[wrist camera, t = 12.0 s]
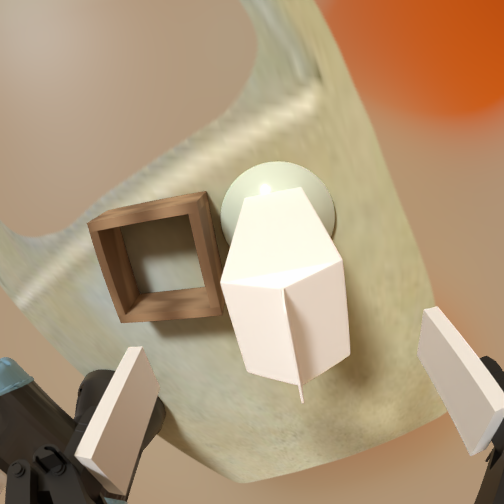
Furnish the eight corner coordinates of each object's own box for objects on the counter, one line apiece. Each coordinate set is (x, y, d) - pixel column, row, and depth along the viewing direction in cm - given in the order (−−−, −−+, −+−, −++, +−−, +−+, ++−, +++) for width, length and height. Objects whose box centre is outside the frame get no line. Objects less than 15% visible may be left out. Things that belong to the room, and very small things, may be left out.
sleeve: (135, 301, 39) (121, 323, 34) (107, 210, 34) (87, 223, 30) (227, 291, 38) (221, 315, 33) (206, 191, 33) (196, 201, 29)
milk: (256, 250, 35) (240, 415, 15) (243, 196, 33) (204, 319, 12) (312, 240, 34) (363, 397, 14) (302, 185, 32) (360, 292, 12)
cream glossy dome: (232, 275, 37) (231, 278, 36) (211, 170, 33) (210, 171, 32) (337, 261, 36) (338, 263, 35) (327, 154, 31) (328, 155, 31)
